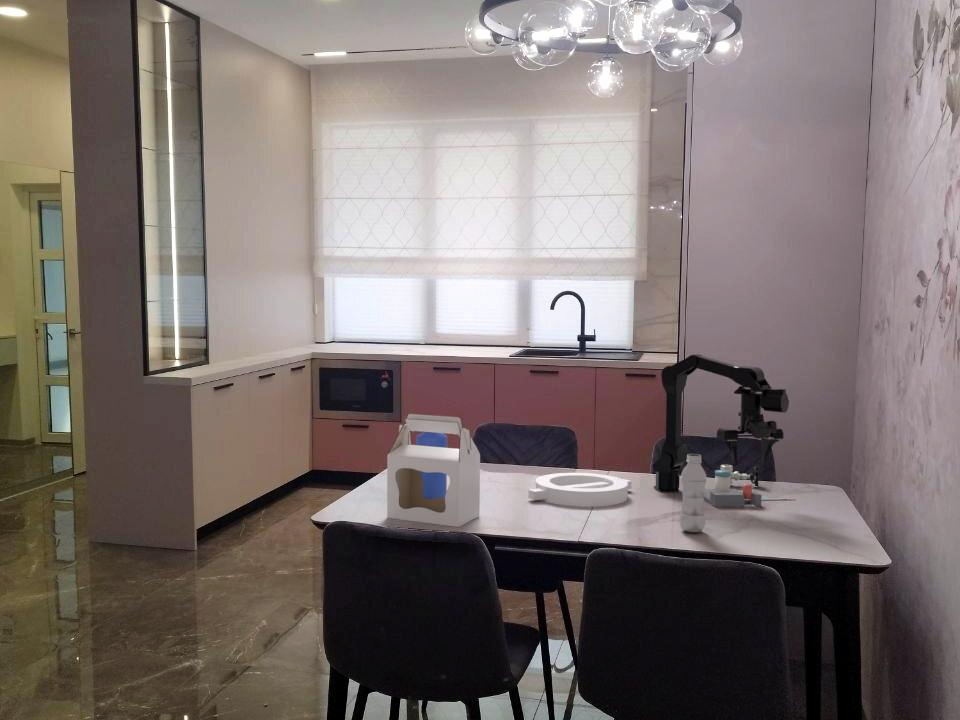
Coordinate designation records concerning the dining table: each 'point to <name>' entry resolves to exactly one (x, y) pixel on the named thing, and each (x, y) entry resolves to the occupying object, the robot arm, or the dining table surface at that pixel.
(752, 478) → the valve
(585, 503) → the white circle with bar
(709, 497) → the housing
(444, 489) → the water bottle
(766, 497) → the mat
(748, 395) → the robot arm
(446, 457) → the gable box
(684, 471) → the plastic bottle
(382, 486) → the dining table surface
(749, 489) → the plunger button
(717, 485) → the cartridge
